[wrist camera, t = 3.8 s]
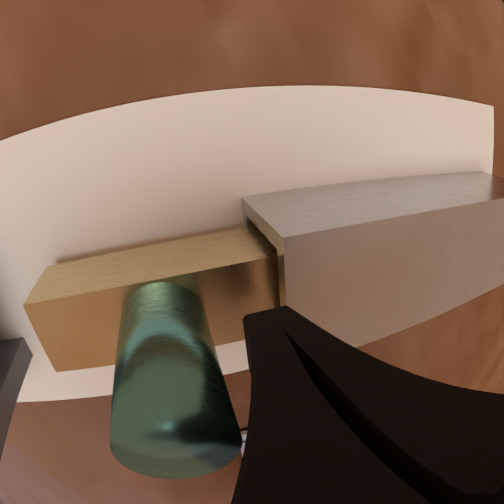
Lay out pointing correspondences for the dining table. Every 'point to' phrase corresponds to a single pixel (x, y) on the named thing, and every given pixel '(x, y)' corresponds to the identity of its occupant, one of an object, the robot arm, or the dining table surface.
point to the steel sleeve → (383, 249)
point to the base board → (201, 180)
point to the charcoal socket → (11, 379)
